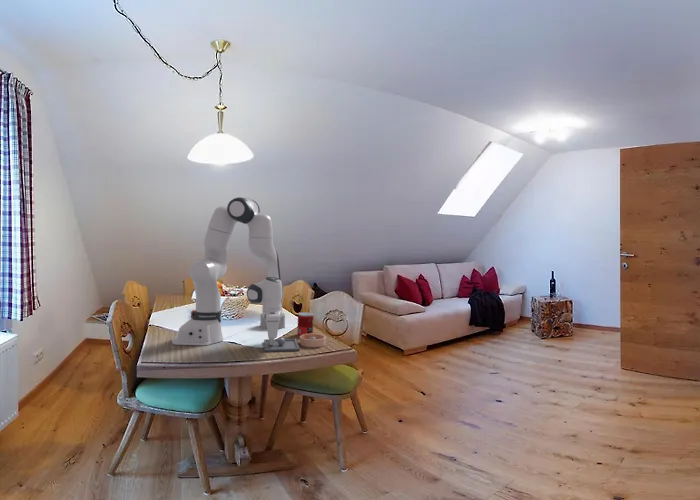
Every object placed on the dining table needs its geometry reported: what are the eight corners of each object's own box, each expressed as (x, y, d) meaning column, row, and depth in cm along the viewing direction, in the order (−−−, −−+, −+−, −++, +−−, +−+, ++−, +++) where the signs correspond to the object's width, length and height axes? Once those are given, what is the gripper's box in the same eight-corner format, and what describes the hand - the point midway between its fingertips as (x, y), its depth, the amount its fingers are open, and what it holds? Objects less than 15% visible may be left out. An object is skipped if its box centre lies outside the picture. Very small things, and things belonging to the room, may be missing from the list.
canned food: (310, 337, 208) (311, 315, 207) (295, 336, 210) (295, 314, 209) (314, 333, 216) (315, 312, 215) (300, 332, 217) (300, 311, 217)
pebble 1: (267, 346, 187) (267, 338, 187) (267, 344, 191) (267, 337, 191) (275, 346, 188) (275, 338, 188) (274, 344, 191) (274, 336, 191)
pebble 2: (277, 346, 188) (277, 338, 188) (277, 344, 192) (277, 336, 192) (285, 345, 189) (285, 338, 189) (284, 343, 193) (284, 336, 192)
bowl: (301, 347, 189) (301, 340, 189) (298, 340, 201) (298, 333, 201) (327, 347, 192) (327, 339, 192) (323, 340, 204) (323, 333, 203)
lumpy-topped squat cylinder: (267, 323, 234) (268, 308, 234) (288, 326, 230) (288, 310, 230) (258, 327, 225) (258, 311, 224) (279, 330, 221) (280, 314, 220)
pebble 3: (309, 343, 196) (308, 336, 195) (316, 341, 196) (315, 335, 196) (310, 345, 192) (309, 338, 192) (317, 344, 193) (316, 337, 192)
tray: (264, 351, 181) (265, 349, 181) (263, 342, 197) (264, 339, 196) (299, 350, 184) (299, 348, 184) (295, 341, 200) (295, 338, 200)
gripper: (264, 308, 198) (263, 337, 199) (265, 317, 178) (264, 349, 179) (277, 308, 200) (276, 337, 200) (280, 317, 180) (279, 349, 180)
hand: (271, 343), depth 189 cm, fingers closed on pebble 1, 3 cm apart
